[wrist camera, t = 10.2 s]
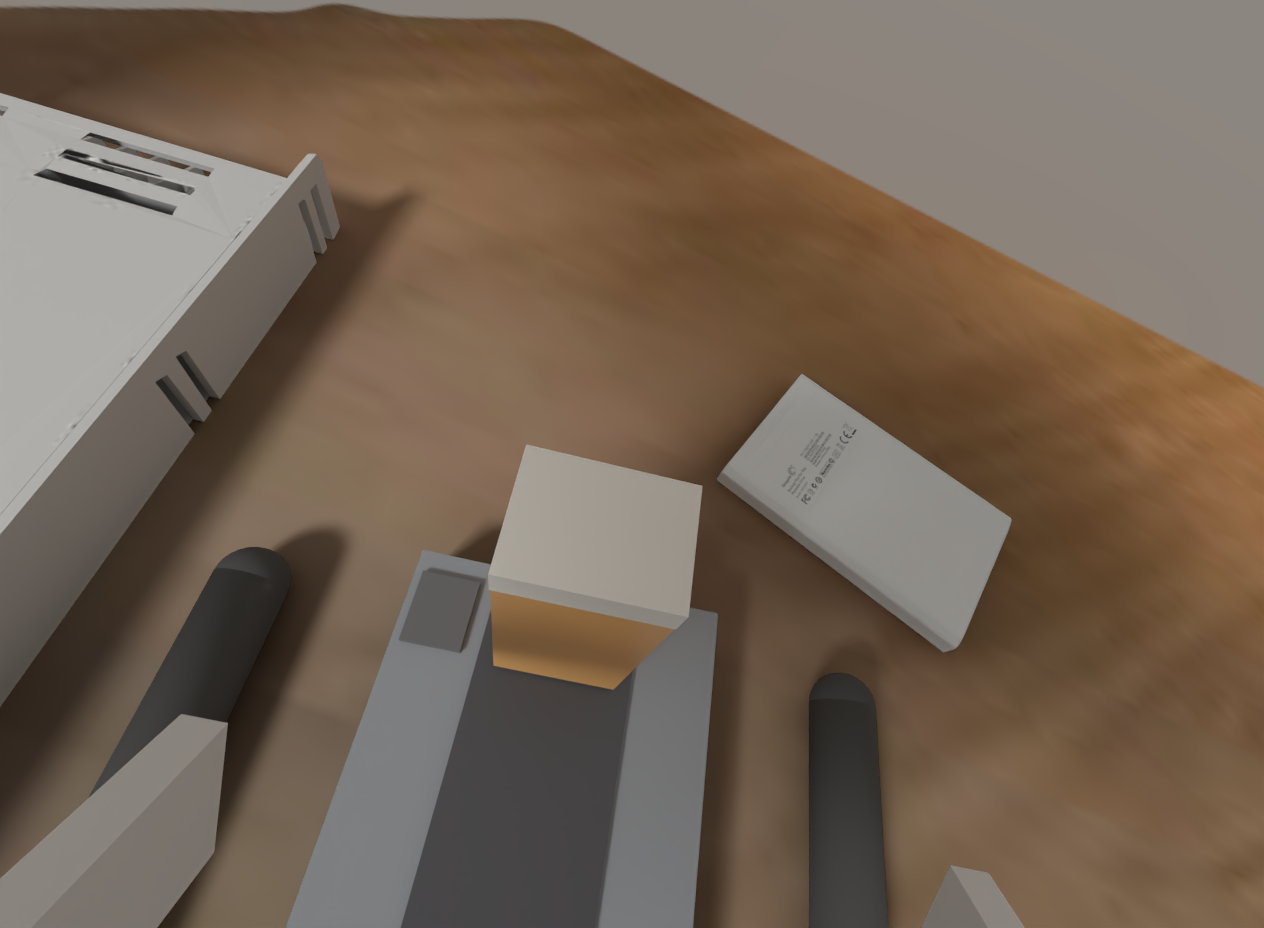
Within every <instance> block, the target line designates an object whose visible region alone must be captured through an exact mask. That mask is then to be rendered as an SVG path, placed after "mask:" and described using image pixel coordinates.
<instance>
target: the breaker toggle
mask: <svg viewBox="0 0 1264 928" xmlns="http://www.w3.org/2000/svg"><path fill="white" fill-rule="evenodd" d="M701 496H702V486H701V485H697V484H692V483H688V482H684V481H680V480H675V479H671V478H667V477H663V476H658V475H654V474H650V473H646V472H641V471H637V470H633V469H629V468H624V467H620V466H616V465H611V464H607V463H603V462H599V461H594V460H590V459H586V458H582V457H577V456H573V455H569V454H565V453H560V452H556V451H552V450H548V449H543V448H539V447H535V446H530V445H526V448H525V451H524V454H523V458H522V461H521V465H520V468H519V471H518V475H517V478H516V481H515V485H514V488H513V492H512V495H511V498H510V502H509V505H508V509H507V512H506V515H505V519H504V522H503V525H502V529H501V532H500V536H499V539H498V542H497V546H496V549H495V553H494V556H493V559H492V563H491V566H490V570H489V573H488V583H489V590H490V599H491V622H492V645H493V666H497V667H502V668H507V669H512V670H517V671H522V672H527V673H532V674H537V675H542V676H547V677H552V678H557V679H562V680H567V681H572V682H577V683H582V684H587V685H592V686H597V687H602V688H607V689H612V690H614V689H615V688H616V687H617V686H618V685H619V684H620V683H621V682H622V681H623V680H624V679H625V678H626V677H627V676H628V675H629V674H630V673H631V672H632V671H633V670H634V669H635V668H636V667H637V666H638V665H639V664H640V663H641V662H642V661H643V660H644V659H645V658H646V657H647V656H648V655H649V654H650V653H651V652H652V651H653V650H654V649H655V648H656V647H657V646H658V645H659V644H660V643H661V642H662V641H663V640H664V639H665V638H666V637H667V636H668V635H669V634H670V633H671V632H672V631H673V630H674V629H675V630H676V629H677V628H678V627H679V626H680V625H681V624H682V623H683V622H684V621H685V620H686V619H687V618H688V617H689V609H690V599H691V590H692V581H693V571H694V562H695V552H696V543H697V533H698V524H699V515H700V505H701Z"/></svg>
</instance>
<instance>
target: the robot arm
mask: <svg viewBox="0 0 1264 928" xmlns="http://www.w3.org/2000/svg"><path fill="white" fill-rule="evenodd" d="M227 728H228V723H225V722H220V721H215V720H210V719H205V718H200V717H194V716H189V715H184V714H181V715H180V716H178V717H177V718H176V719H175V720H174V721H173V722H172V723H171V724H170V725H168V726H167V727H166V728H165V729H164V730H163V731H162V732H161V733H160V734H159V735H157V736H156V737H155V738H154V739H153V740H152V741H151V742H150V743H149V744H148V745H146V746H145V747H144V748H143V749H142V750H141V751H140V752H139V753H138V754H137V755H135V756H134V757H133V758H132V759H131V760H130V761H129V762H128V763H127V764H126V765H124V766H123V767H122V768H121V769H120V770H119V771H118V772H117V773H116V774H115V775H113V776H112V777H111V778H110V779H109V780H108V781H107V782H106V783H105V784H104V785H102V786H101V787H100V788H99V789H98V790H97V791H96V792H95V793H94V794H93V795H91V796H90V797H89V798H88V799H87V800H86V801H85V802H84V803H83V804H82V805H80V806H79V807H78V808H77V809H76V810H75V811H74V812H73V813H72V814H71V815H69V816H68V817H67V818H66V819H65V820H64V821H63V822H62V823H61V824H59V825H58V826H57V827H56V828H55V829H54V830H53V831H52V832H51V833H50V834H48V835H47V836H46V837H45V838H44V839H43V840H42V841H41V842H40V843H39V844H37V845H36V846H35V847H34V848H33V849H32V850H31V851H30V852H29V853H28V854H26V855H25V856H24V857H23V858H22V859H21V860H20V861H19V862H18V863H17V864H15V865H14V866H13V867H12V868H11V869H10V870H9V871H8V872H7V873H6V874H4V875H3V876H2V877H1V878H0V928H157V927H158V926H159V925H160V923H161V922H162V921H163V919H164V918H165V917H166V915H167V914H168V913H169V911H170V910H171V909H172V908H173V906H174V905H175V904H176V902H177V901H178V900H179V898H180V897H181V896H182V894H183V893H184V892H185V890H186V889H187V888H188V886H189V885H190V884H191V882H192V881H193V880H194V878H195V877H196V876H197V874H198V873H199V872H200V870H201V869H202V868H203V867H204V865H205V864H206V863H207V861H208V860H209V859H210V857H211V856H212V855H213V853H214V850H215V841H216V831H217V822H218V812H219V803H220V794H221V784H222V775H223V765H224V756H225V746H226V737H227ZM921 928H1024V926H1023V925H1022V923H1021V921H1020V920H1019V918H1018V917H1017V915H1016V914H1015V912H1014V911H1013V909H1012V908H1011V906H1010V905H1009V903H1008V902H1007V900H1006V899H1005V897H1004V896H1003V894H1002V893H1001V891H1000V890H999V888H998V887H997V885H996V884H995V882H994V880H993V879H992V877H991V876H990V874H989V873H986V872H981V871H976V870H971V869H966V868H961V867H956V866H951V865H950V867H949V869H948V872H947V874H946V876H945V878H944V880H943V882H942V884H941V886H940V889H939V891H938V893H937V895H936V897H935V899H934V901H933V903H932V905H931V908H930V910H929V912H928V914H927V916H926V918H925V920H924V922H923V924H922V927H921Z"/></svg>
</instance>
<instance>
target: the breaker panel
mask: <svg viewBox="0 0 1264 928" xmlns="http://www.w3.org/2000/svg"><path fill="white" fill-rule="evenodd" d="M490 566H491V564H487V563H482V562H477V561H473V560H468V559H463V558H459V557H454V556H449V555H445V554H440V553H436V552H431V551H426V550H423V551H422V554H421V557H420V559H419V562H418V565H417V568H416V570H415V573H414V576H413V579H412V581H411V584H410V587H409V590H408V592H407V595H406V598H405V601H404V603H403V606H402V609H401V612H400V614H399V617H398V620H397V623H396V625H395V628H394V631H393V634H392V636H391V639H390V642H389V645H388V647H387V650H386V653H385V656H384V658H383V661H382V664H381V667H380V669H379V672H378V675H377V678H376V680H375V683H374V686H373V689H372V691H371V694H370V697H369V700H368V702H367V705H366V708H365V711H364V713H363V716H362V719H361V722H360V724H359V727H358V730H357V733H356V735H355V738H354V741H353V744H352V746H351V749H350V752H349V755H348V757H347V760H346V763H345V766H344V768H343V771H342V774H341V777H340V779H339V782H338V785H337V788H336V790H335V793H334V796H333V799H332V801H331V804H330V807H329V810H328V812H327V815H326V818H325V821H324V823H323V826H322V829H321V832H320V834H319V837H318V840H317V843H316V845H315V848H314V851H313V854H312V856H311V859H310V862H309V865H308V867H307V870H306V873H305V876H304V878H303V881H302V884H301V887H300V889H299V892H298V895H297V898H296V900H295V903H294V906H293V909H292V911H291V914H290V917H289V920H288V922H287V925H286V928H693V920H694V908H695V895H696V883H697V871H698V858H699V846H700V833H701V821H702V808H703V796H704V783H705V771H706V758H707V746H708V733H709V721H710V708H711V696H712V683H713V671H714V659H715V646H716V634H717V621H718V613H714V612H709V611H704V610H700V609H695V608H691V607H690V609H689V617H688V618H687V619H686V620H685V621H684V622H683V623H682V624H681V625H680V626H679V627H678V628H677V629H676V630H675V629H674V630H673V631H672V632H671V633H670V634H669V635H668V636H667V637H666V638H665V639H664V640H663V641H662V642H661V643H660V644H659V645H658V646H657V647H656V648H655V649H654V650H653V651H652V652H651V653H650V654H649V655H648V656H647V657H646V658H645V659H644V660H643V661H642V662H641V663H640V664H639V665H638V666H637V667H636V668H635V669H634V670H633V671H632V672H631V673H630V674H629V675H628V676H627V677H626V678H625V679H624V680H623V681H622V682H621V683H620V684H619V685H618V686H617V687H616V688H615V689H614V690H612V689H607V688H602V687H597V686H592V685H587V684H582V683H577V682H572V681H567V680H562V679H557V678H552V677H547V676H542V675H537V674H532V673H527V672H522V671H517V670H512V669H507V668H502V667H497V666H493V645H492V622H491V599H490V590H489V583H488V573H489V570H490Z"/></svg>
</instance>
